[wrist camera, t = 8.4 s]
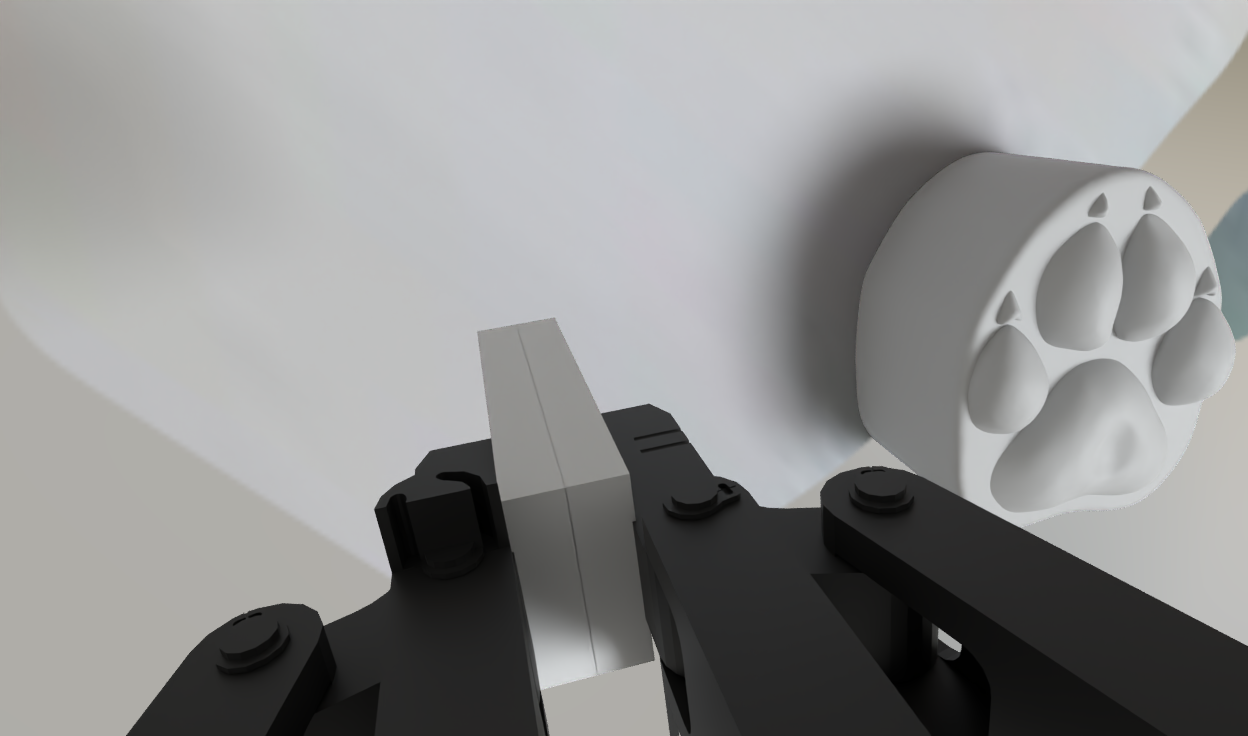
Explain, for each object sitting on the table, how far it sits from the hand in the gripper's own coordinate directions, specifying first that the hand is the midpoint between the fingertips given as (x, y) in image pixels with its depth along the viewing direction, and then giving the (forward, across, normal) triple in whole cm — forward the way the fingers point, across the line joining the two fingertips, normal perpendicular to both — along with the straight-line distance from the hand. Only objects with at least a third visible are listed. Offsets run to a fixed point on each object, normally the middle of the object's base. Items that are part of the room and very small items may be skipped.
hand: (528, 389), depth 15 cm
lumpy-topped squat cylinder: (+14, +20, -6) cm, 25 cm away
